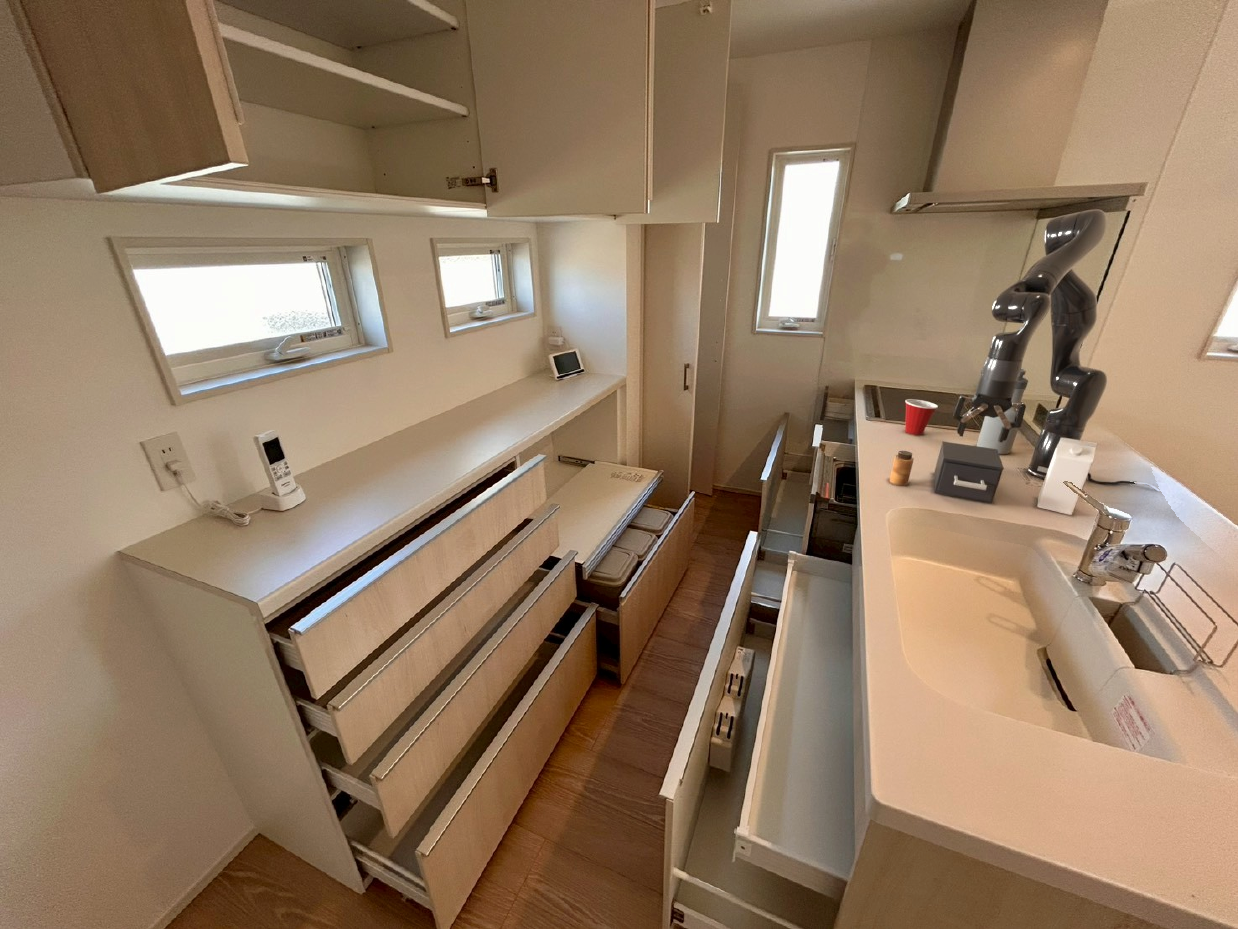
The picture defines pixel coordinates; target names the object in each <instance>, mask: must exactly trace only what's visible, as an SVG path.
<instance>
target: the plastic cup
mask: <svg viewBox="0 0 1238 929" xmlns="http://www.w3.org/2000/svg"><path fill="white" fill-rule="evenodd" d="M904 401H905V419H904V420H905V422H904V423H905V424H904V426H905V427H904V428H905V433H906V434H908V435H912V436H922V435H923V434H924V432H925V430H926V428H927V426H928V425H929V422H930V420H931V418H932V416H933V414H934V412H935V411H936V409H938V407H939V406H938V404H935V402H934V403H933V402H930V401H926V400H922V399H913V398H908V399H905V400H904Z"/></svg>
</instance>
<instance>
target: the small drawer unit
mask: <svg viewBox="0 0 1238 929" xmlns="http://www.w3.org/2000/svg"><path fill="white" fill-rule="evenodd" d="M1000 456H1001V455H1000V454H999V453H998V450H997V449H991V448H985V447H978V446H977V445H970V444H963V443H957V442H949V441H942V442H941V446H940V449H939V453H938V458H937V460H936V465H935V468H934V472H933V489H934V490H933V491H934V492H933V493H935V494H940V495H944V496H945V495H946V496H950V497H955V498H962V499H967V500H971V501H977V502H983V503H987V504H988V503H989V504H993V502H994V499H995V496H996V493H997V490H998V487H999V483H1000V481H1001V477H1002V475H1003V470H1004V465H1003V462H1002V459H1001V457H1000ZM945 462H953V463H959V464H965V465H971V466H978V467H984V468H990V469H996V470H999V471H1000V475H999V478H998V481H997V484H996V487H995V490H994V493H993V496H992V500H991V502H990V501H984V500H979V499H974V498H968V497H963V496H957V495H952V494H947V493H941V492H938V487H939V483H940V480H941V476H942V472H943V469H944V465H945Z"/></svg>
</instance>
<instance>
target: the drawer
mask: <svg viewBox="0 0 1238 929" xmlns="http://www.w3.org/2000/svg"><path fill="white" fill-rule="evenodd" d="M999 475H1000V471H999V470H996V469H990V468H984V467H978V466H971V465H965V464H959V463H953V462H945V465H944V469H943V472H942V476H941V480H940V483H939V487H938V492H941V493H947V494H952V495H957V496H963V497H968V498H974V499H979V500H984V501H990V502H991V500H992V496H993V493H994V490H995V487H996V484H997V481H998V478H999Z"/></svg>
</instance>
